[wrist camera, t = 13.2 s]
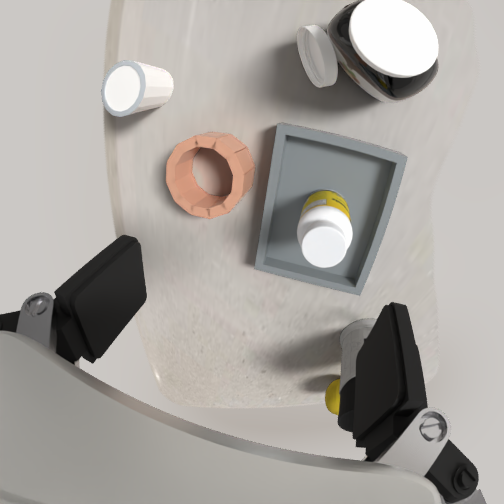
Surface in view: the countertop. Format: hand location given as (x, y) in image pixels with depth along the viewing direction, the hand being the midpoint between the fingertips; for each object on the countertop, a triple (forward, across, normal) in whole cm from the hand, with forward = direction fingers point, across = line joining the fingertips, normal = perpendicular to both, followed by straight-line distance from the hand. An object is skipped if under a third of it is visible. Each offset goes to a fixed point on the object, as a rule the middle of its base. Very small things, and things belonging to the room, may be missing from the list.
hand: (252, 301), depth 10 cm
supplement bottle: (+24, -3, +5) cm, 25 cm away
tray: (+24, -3, +5) cm, 25 cm away
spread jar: (+25, -4, -13) cm, 28 cm away
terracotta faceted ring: (+25, +11, +3) cm, 27 cm away
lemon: (+24, -15, +35) cm, 45 cm away
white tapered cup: (+25, +21, -7) cm, 33 cm away
